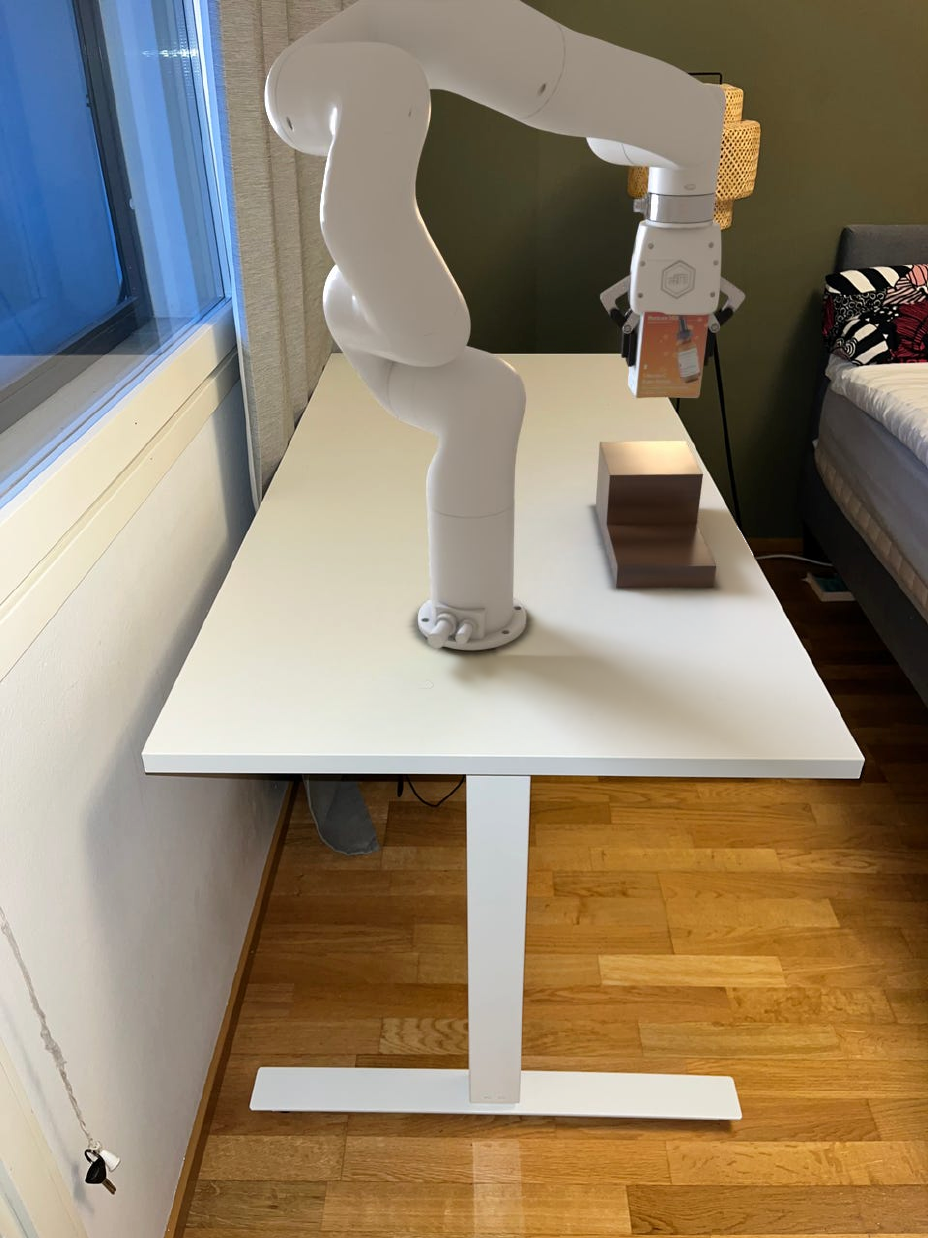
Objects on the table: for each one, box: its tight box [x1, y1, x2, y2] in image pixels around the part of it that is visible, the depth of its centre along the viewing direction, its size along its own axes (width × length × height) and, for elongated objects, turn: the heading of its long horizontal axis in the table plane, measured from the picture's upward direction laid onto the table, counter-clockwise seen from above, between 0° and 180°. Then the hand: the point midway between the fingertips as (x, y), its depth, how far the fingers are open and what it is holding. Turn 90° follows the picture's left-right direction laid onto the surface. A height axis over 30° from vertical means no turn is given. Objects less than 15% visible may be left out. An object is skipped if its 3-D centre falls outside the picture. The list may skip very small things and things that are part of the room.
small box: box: [627, 311, 709, 399], centre depth 115 cm, size 8×6×10 cm
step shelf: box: [595, 440, 717, 589], centre depth 125 cm, size 24×12×10 cm, turn 179°
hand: (666, 362), depth 116 cm, fingers closed on small box, 8 cm apart
